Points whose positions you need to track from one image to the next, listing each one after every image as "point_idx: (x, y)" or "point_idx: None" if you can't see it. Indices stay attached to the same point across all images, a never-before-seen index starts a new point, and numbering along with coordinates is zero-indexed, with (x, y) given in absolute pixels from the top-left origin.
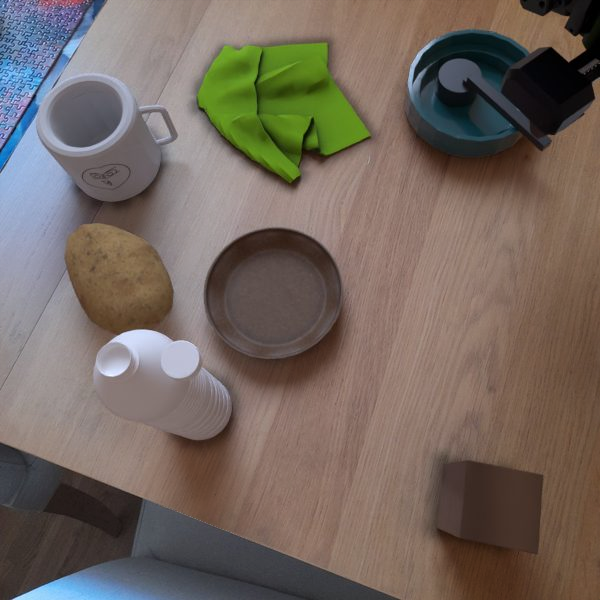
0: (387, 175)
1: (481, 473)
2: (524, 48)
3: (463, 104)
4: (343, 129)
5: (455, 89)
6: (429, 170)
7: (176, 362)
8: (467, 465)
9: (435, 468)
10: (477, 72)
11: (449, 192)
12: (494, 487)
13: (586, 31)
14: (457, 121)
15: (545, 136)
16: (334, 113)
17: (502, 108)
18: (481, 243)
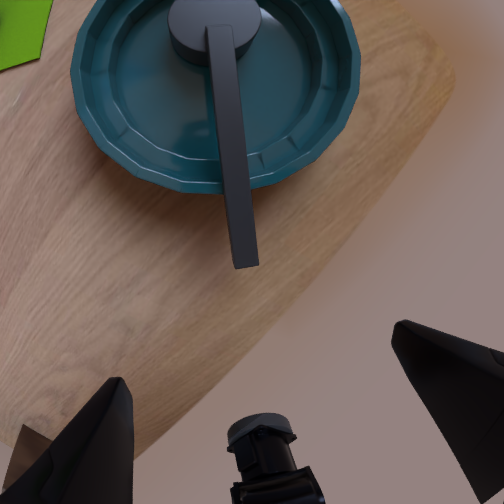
0: (23, 136)
1: None
2: (358, 48)
3: (198, 64)
4: (18, 38)
5: (182, 35)
6: (77, 154)
7: None
8: (2, 488)
9: (17, 422)
10: (250, 27)
11: (86, 208)
12: None
13: None
14: (169, 87)
15: (253, 250)
16: (27, 10)
17: (219, 135)
18: (96, 304)
